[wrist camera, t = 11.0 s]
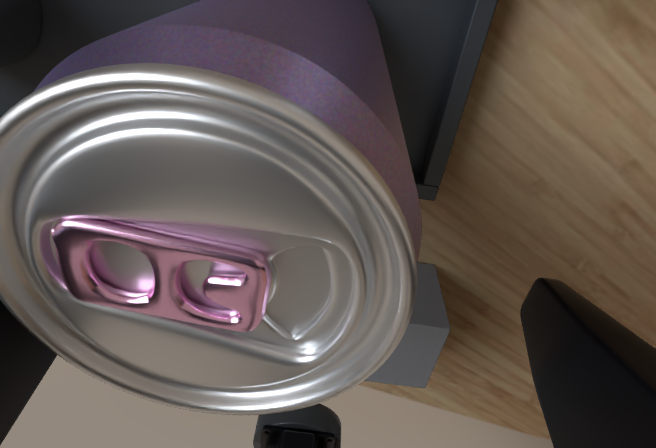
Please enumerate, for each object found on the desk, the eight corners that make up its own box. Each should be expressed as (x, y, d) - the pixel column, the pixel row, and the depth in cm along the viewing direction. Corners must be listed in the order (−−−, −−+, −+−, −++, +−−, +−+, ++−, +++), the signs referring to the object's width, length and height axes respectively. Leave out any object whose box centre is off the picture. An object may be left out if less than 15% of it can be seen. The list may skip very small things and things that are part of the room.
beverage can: (247, -54, 16) (-160, -33, 3) (397, -15, 16) (529, 134, 4) (233, 97, 19) (7, 387, 7) (358, 127, 19) (361, 448, 7)
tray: (430, 184, 22) (435, 201, 20) (-103, 111, 21) (-137, 123, 20) (523, -128, 14) (541, -136, 13) (-278, -251, 14) (-350, -274, 12)
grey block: (415, 321, 27) (425, 388, 23) (340, 311, 27) (337, 377, 23) (435, 264, 24) (450, 329, 20) (352, 253, 24) (351, 316, 20)
